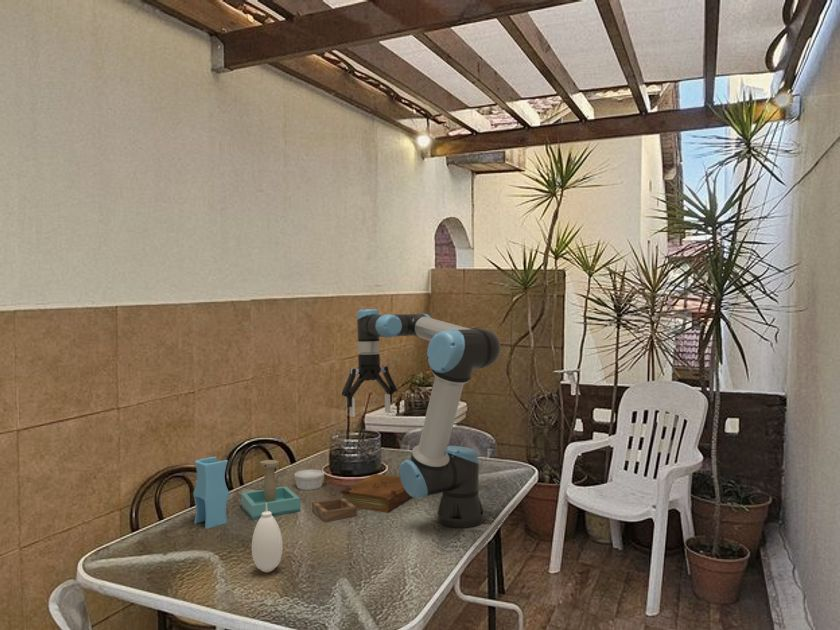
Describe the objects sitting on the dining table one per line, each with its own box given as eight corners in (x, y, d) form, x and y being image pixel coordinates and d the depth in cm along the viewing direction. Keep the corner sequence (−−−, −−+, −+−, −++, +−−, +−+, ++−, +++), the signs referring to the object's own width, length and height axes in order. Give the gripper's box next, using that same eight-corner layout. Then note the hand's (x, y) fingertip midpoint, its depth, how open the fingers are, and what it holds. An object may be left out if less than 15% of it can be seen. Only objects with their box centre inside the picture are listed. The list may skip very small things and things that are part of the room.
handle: (274, 508, 209) (273, 464, 209) (258, 507, 211) (257, 462, 211) (282, 504, 214) (281, 460, 213) (266, 502, 216) (265, 459, 216)
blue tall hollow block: (229, 522, 200) (228, 460, 199) (206, 529, 194) (205, 465, 193) (216, 516, 205) (215, 456, 205) (193, 523, 199) (192, 460, 199)
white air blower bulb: (284, 575, 160) (282, 505, 160) (252, 579, 158) (251, 508, 158) (281, 563, 168) (280, 496, 167) (251, 566, 165) (250, 499, 165)
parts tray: (300, 511, 209) (300, 498, 209) (252, 519, 202) (252, 506, 201) (286, 498, 223) (286, 486, 223) (241, 506, 216) (240, 493, 216)
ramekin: (330, 485, 240) (330, 471, 239) (310, 493, 230) (310, 478, 230) (308, 481, 246) (308, 467, 245) (288, 488, 236) (288, 474, 236)
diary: (388, 514, 207) (387, 497, 207) (341, 507, 215) (340, 490, 215) (419, 494, 228) (419, 479, 227) (375, 488, 236) (374, 473, 236)
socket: (356, 516, 204) (356, 507, 204) (324, 522, 199) (324, 512, 199) (343, 505, 214) (342, 497, 214) (312, 511, 209) (312, 502, 209)
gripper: (395, 351, 227) (396, 409, 227) (331, 354, 214) (332, 416, 214) (405, 352, 220) (406, 412, 220) (340, 355, 208) (341, 419, 208)
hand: (370, 414), depth 217 cm, fingers open, 13 cm apart
